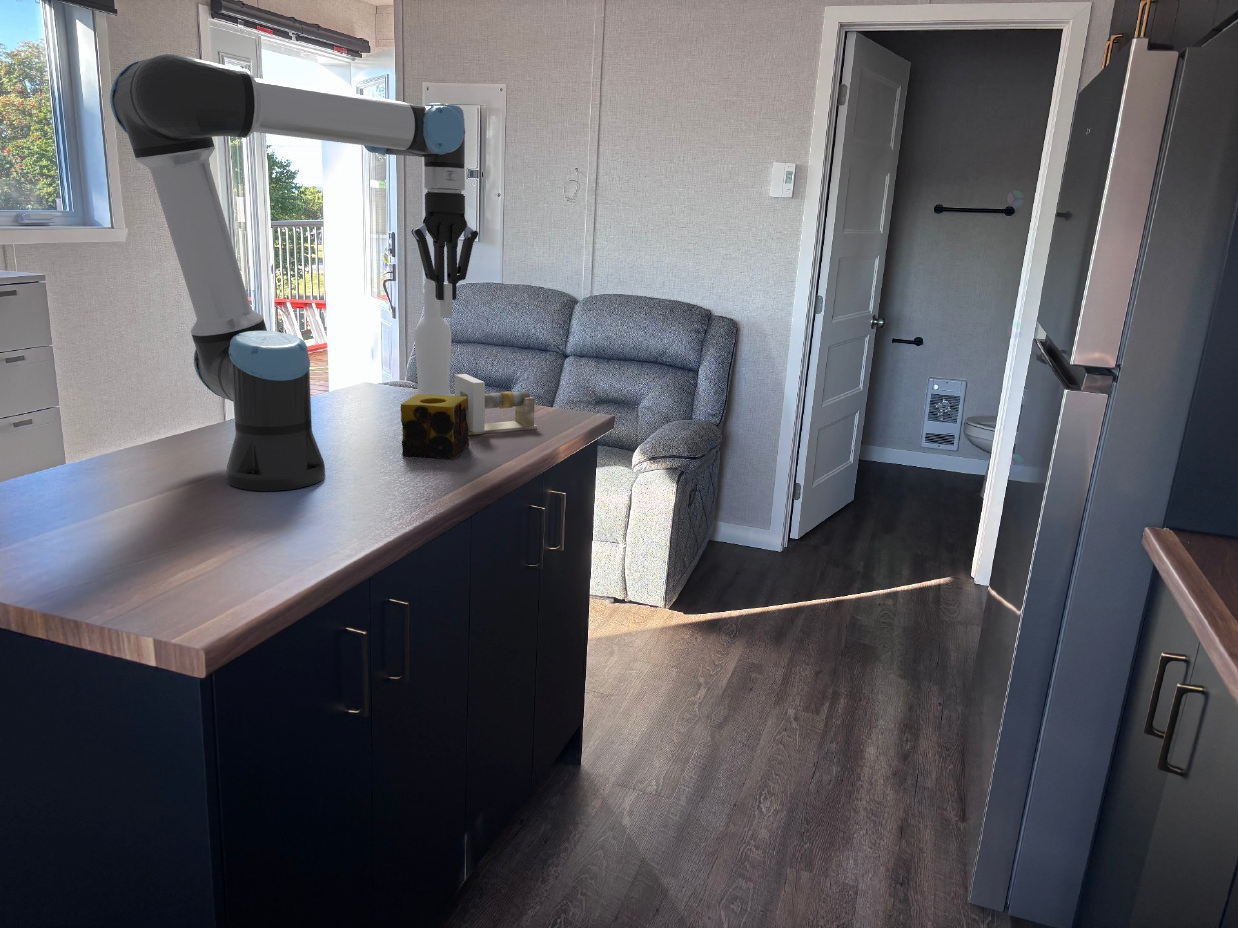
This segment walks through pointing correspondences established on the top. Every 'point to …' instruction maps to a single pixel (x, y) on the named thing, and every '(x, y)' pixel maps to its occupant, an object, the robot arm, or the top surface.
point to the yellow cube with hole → (434, 426)
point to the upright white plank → (472, 400)
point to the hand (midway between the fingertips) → (446, 317)
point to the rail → (514, 425)
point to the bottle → (432, 347)
